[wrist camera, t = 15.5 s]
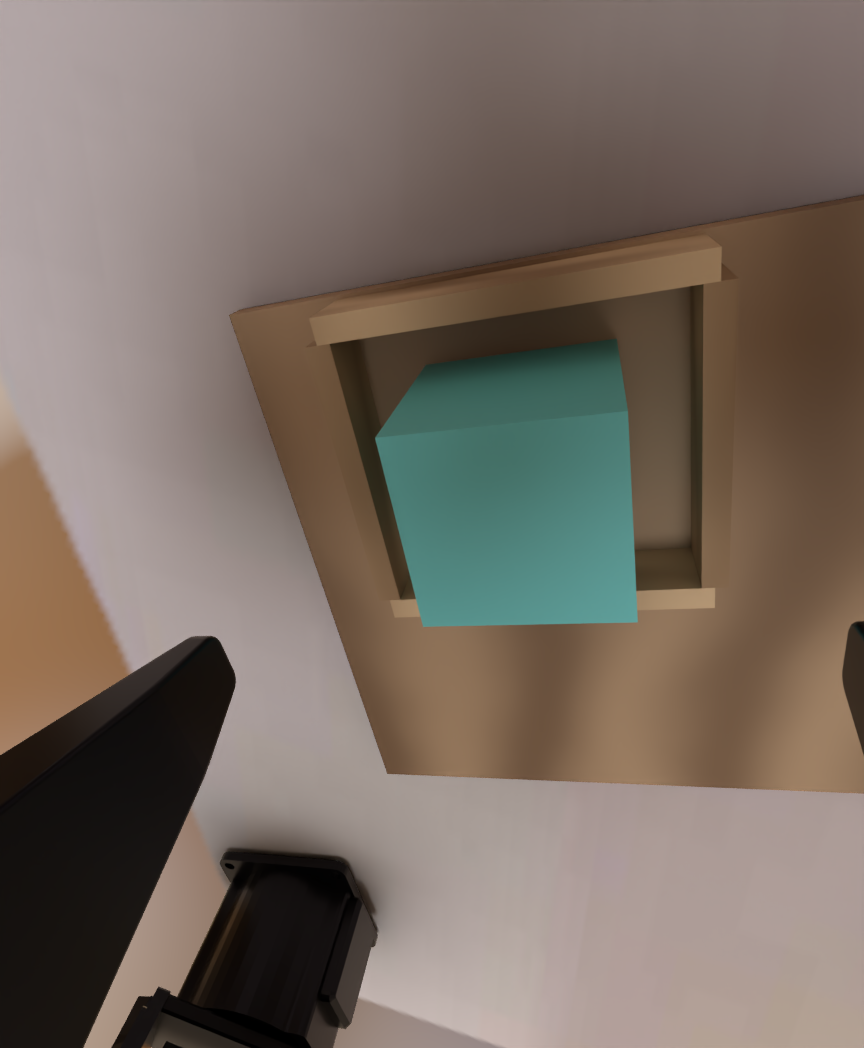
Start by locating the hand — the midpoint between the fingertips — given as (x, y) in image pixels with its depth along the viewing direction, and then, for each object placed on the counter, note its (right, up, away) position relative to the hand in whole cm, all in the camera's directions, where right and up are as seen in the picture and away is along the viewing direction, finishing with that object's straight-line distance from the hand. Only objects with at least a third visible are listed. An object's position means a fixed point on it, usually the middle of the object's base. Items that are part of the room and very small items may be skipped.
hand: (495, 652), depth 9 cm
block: (+1, +4, +7) cm, 8 cm away
